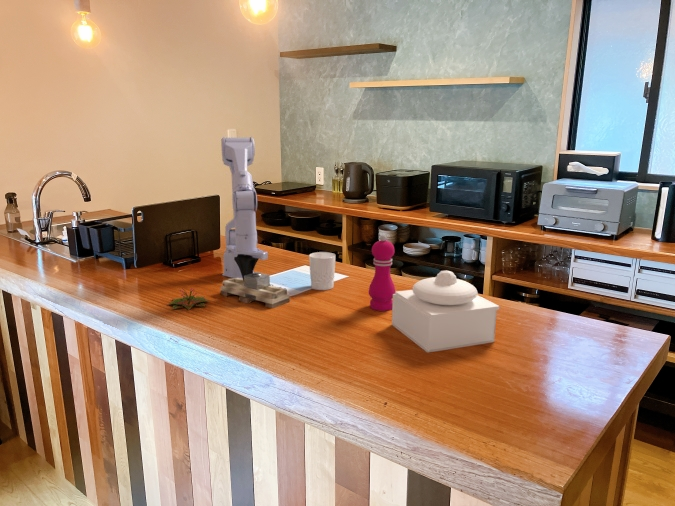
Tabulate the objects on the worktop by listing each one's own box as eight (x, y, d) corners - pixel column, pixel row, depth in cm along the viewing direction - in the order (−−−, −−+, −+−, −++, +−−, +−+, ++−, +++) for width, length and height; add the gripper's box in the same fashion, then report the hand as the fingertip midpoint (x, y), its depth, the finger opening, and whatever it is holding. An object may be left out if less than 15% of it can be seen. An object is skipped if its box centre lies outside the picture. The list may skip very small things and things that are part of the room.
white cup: (336, 283, 166) (336, 252, 163) (333, 291, 158) (334, 258, 156) (311, 282, 167) (311, 251, 164) (307, 290, 159) (307, 257, 157)
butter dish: (391, 325, 132) (393, 263, 128) (454, 317, 138) (458, 257, 135) (427, 353, 116) (431, 283, 112) (496, 342, 122) (502, 275, 119)
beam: (218, 295, 154) (217, 282, 153) (241, 287, 161) (240, 275, 160) (269, 309, 142) (269, 295, 142) (291, 300, 150) (291, 287, 149)
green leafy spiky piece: (212, 310, 143) (211, 293, 142) (165, 314, 140) (164, 297, 139) (210, 296, 154) (209, 281, 153) (167, 300, 151) (165, 284, 150)
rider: (244, 290, 150) (243, 274, 149) (257, 286, 154) (256, 270, 153) (257, 294, 147) (256, 277, 146) (269, 289, 151) (269, 273, 150)
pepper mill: (393, 312, 141) (396, 238, 136) (366, 310, 142) (367, 237, 137) (396, 303, 148) (398, 232, 143) (370, 302, 149) (371, 231, 144)
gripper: (217, 232, 150) (219, 279, 153) (254, 239, 142) (255, 288, 145) (235, 229, 155) (237, 273, 158) (272, 235, 147) (273, 282, 150)
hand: (247, 280), depth 152 cm, fingers closed
